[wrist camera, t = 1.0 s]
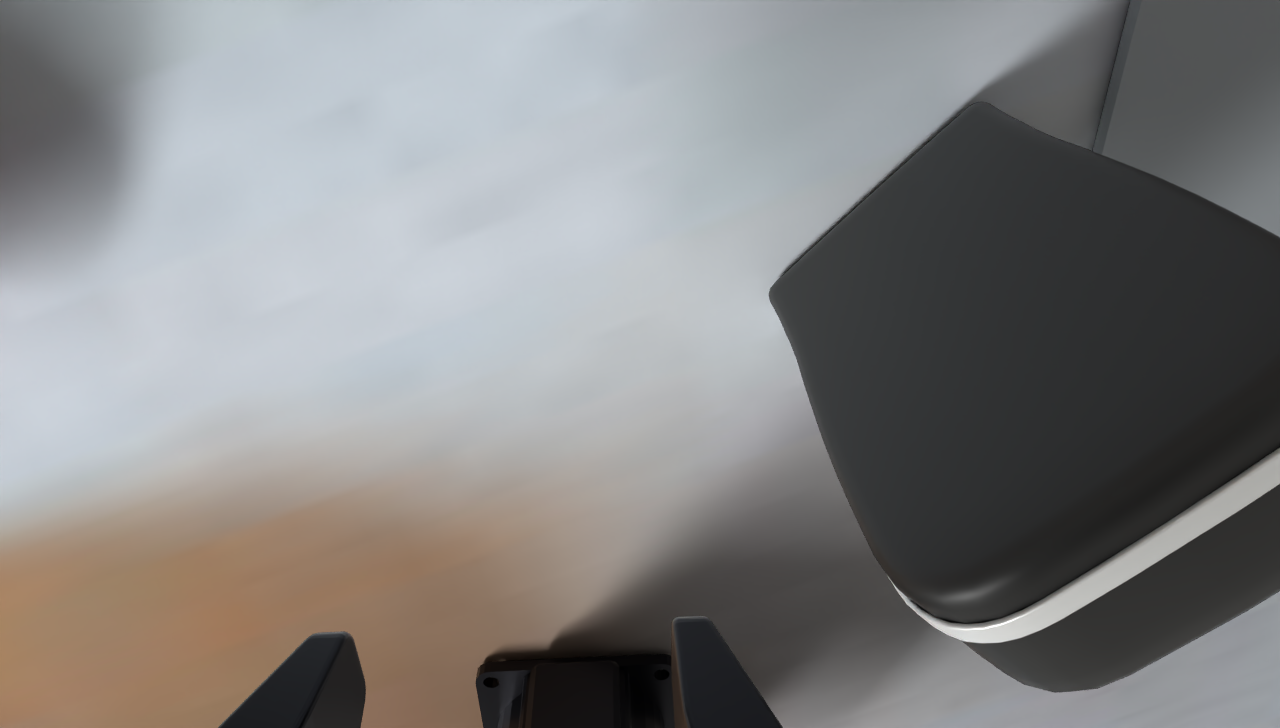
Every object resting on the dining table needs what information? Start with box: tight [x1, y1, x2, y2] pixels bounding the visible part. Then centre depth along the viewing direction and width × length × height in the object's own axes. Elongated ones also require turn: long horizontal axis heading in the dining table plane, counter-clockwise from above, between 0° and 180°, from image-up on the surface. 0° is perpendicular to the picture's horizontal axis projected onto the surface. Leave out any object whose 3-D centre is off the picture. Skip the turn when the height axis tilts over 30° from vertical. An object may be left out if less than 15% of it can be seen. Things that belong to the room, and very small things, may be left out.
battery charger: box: [769, 102, 1280, 692], centre depth 15 cm, size 7×4×11 cm, turn 136°
